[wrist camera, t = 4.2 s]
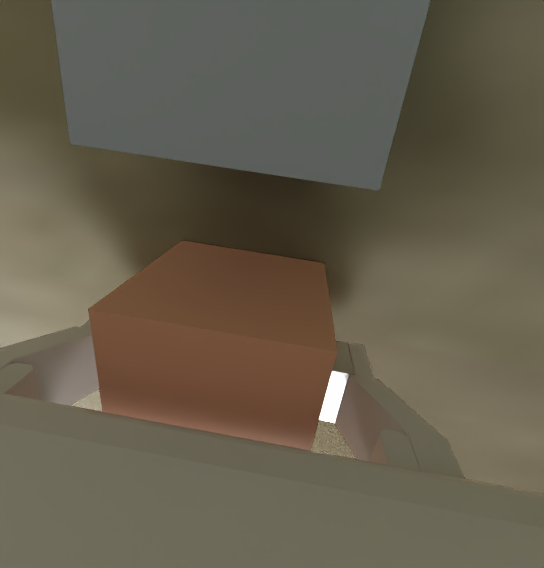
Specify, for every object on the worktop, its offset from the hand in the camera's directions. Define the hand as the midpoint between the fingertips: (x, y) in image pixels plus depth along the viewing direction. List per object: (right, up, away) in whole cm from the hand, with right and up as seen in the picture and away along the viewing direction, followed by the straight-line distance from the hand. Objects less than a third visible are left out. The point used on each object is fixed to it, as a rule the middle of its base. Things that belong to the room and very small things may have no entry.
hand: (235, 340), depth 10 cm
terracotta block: (0, +1, +2) cm, 2 cm away
